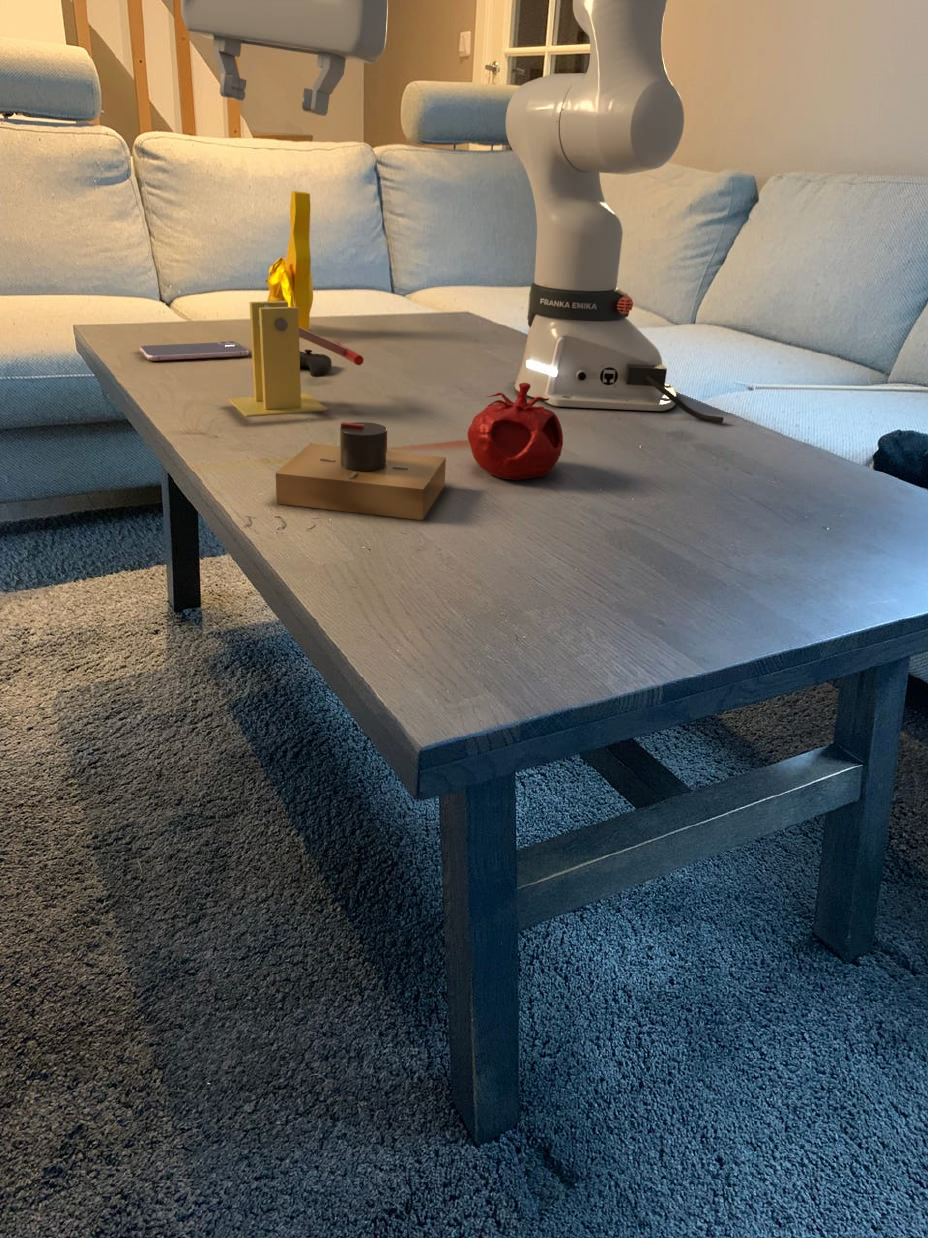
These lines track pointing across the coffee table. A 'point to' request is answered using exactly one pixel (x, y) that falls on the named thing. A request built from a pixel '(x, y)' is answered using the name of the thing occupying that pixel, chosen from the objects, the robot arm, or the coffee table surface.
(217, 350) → the mobile phone
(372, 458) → the dial knob
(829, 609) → the coffee table surface
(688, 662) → the coffee table surface
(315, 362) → the gaming controller
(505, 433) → the red hollowed tomato
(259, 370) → the yellow upright double-plate block
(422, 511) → the knob base block
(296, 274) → the figure statuette
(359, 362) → the lever
